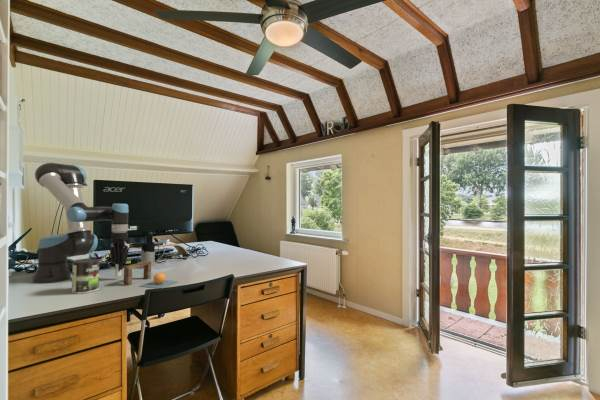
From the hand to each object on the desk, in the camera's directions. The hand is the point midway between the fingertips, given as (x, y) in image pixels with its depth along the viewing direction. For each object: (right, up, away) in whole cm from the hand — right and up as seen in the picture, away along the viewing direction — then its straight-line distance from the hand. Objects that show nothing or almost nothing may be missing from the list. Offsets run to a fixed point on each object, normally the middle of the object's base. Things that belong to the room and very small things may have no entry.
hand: (118, 275), depth 153 cm
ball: (+26, 0, -7) cm, 27 cm away
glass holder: (+3, -3, +30) cm, 31 cm away
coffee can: (-3, -2, -20) cm, 20 cm away
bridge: (+13, -2, -4) cm, 13 cm away
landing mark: (+26, -2, -7) cm, 27 cm away
